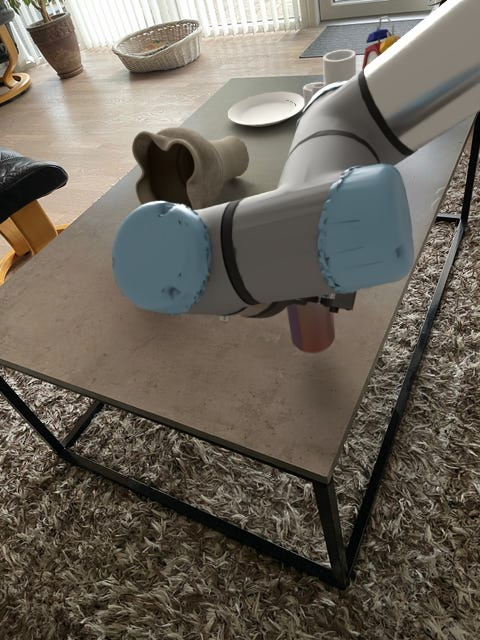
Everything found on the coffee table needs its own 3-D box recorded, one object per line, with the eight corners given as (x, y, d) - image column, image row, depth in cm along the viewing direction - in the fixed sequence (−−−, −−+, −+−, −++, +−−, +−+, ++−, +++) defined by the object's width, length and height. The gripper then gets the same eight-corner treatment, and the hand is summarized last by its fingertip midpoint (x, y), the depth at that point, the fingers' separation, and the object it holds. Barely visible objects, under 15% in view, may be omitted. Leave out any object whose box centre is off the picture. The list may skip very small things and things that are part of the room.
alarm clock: (361, 98, 129) (361, 12, 115) (392, 90, 129) (396, 3, 115) (383, 118, 118) (386, 26, 104) (417, 110, 118) (425, 16, 104)
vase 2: (358, 143, 111) (358, 48, 98) (352, 158, 107) (351, 61, 93) (310, 143, 115) (303, 52, 101) (302, 158, 111) (294, 64, 97)
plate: (296, 93, 139) (295, 85, 137) (314, 121, 123) (313, 113, 122) (225, 110, 139) (223, 102, 138) (234, 140, 124) (232, 131, 122)
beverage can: (284, 346, 68) (269, 262, 57) (305, 319, 71) (295, 234, 60) (322, 361, 65) (314, 274, 54) (342, 332, 68) (338, 244, 57)
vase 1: (204, 101, 111) (109, 122, 92) (284, 89, 98) (191, 112, 79) (221, 195, 121) (138, 232, 102) (295, 196, 108) (215, 239, 89)
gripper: (158, 298, 50) (252, 307, 71) (336, 339, 41) (384, 336, 62) (171, 225, 49) (263, 256, 70) (354, 252, 41) (397, 278, 62)
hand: (320, 294), depth 66 cm, fingers closed on beverage can, 6 cm apart
